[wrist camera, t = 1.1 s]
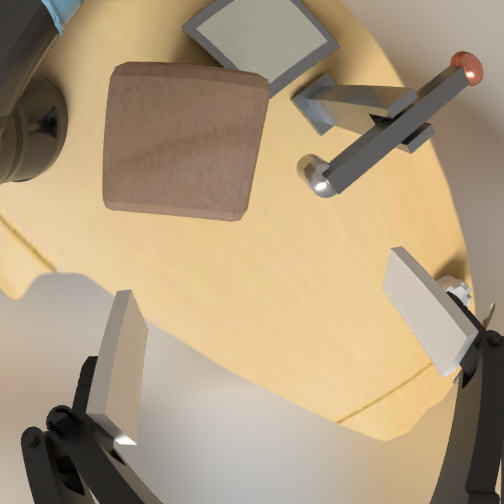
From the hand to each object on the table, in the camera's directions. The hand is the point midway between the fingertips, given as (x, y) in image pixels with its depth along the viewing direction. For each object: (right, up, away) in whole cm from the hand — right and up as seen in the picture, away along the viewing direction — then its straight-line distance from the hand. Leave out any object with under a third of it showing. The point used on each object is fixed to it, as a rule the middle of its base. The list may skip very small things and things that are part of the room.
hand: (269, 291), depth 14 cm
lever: (+11, +14, +7) cm, 19 cm away
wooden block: (-8, +18, +19) cm, 28 cm away
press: (+3, +26, +16) cm, 31 cm away
